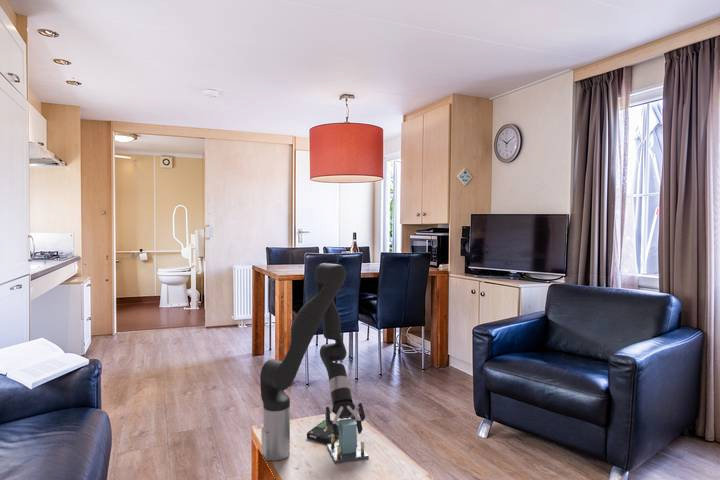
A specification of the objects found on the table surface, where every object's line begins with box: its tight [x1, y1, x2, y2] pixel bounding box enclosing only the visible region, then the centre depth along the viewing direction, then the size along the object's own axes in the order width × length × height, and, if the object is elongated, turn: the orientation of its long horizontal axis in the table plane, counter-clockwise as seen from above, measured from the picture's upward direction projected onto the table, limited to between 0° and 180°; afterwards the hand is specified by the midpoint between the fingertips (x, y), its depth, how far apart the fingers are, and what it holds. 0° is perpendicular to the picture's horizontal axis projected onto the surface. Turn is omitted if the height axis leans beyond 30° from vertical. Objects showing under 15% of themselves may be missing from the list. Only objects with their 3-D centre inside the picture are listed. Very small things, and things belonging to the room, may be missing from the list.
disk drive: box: [306, 419, 339, 444], centre depth 178 cm, size 10×3×15 cm
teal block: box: [338, 418, 358, 454], centre depth 163 cm, size 5×5×10 cm
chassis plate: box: [326, 431, 370, 464], centre depth 163 cm, size 12×12×5 cm
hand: (348, 434), depth 161 cm, fingers open, 8 cm apart
